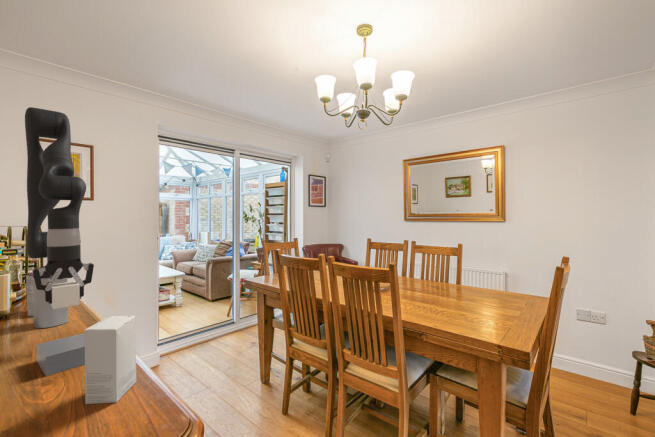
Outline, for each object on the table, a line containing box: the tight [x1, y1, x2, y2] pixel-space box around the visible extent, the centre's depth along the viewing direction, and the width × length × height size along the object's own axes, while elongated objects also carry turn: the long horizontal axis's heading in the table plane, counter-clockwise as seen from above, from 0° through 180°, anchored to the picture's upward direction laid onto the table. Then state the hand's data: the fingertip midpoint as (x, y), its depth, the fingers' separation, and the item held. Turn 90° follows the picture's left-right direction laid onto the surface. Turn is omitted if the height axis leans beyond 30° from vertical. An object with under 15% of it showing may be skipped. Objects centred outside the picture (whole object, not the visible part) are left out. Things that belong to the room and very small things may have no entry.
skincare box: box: [84, 315, 137, 405], centre depth 67 cm, size 8×7×16 cm
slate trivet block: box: [36, 332, 85, 377], centre depth 83 cm, size 12×12×5 cm
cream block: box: [51, 280, 81, 309], centre depth 91 cm, size 6×6×6 cm
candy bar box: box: [25, 273, 34, 318], centre depth 125 cm, size 11×5×16 cm, turn 168°
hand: (65, 300), depth 91 cm, fingers closed on cream block, 6 cm apart
